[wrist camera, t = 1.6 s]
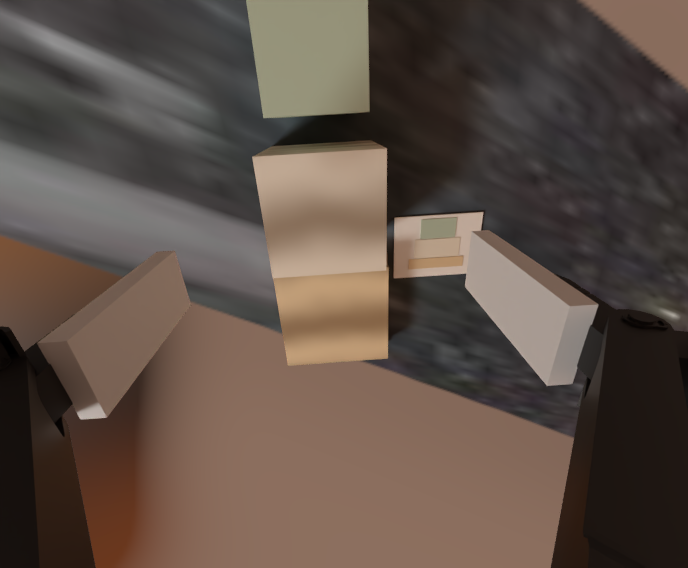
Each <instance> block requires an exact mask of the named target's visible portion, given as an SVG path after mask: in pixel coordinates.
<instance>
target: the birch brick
mask: <svg viewBox="0 0 688 568" xmlns="http://www.w3.org/2000/svg"><path fill="white" fill-rule="evenodd" d="M252 158H253V164H254V170H255V176H256V182H257V188H258V193H259V199H260V205H261V211H262V217H263V223H264V229H265V235H266V241H267V247H268V253H269V258H270V264H271V270H272V276H273V278H285V277H299V276H314V275H328V274H343V273H357V272H372V271H386V248H387V148H385V147H383V146H381V145H379V144H377V143H375V142H374V141H372V140H365V141H349V142H333V143H317V144H301V145H285V146H272V147H270V148H268V149H266V150H264V151H262V152H260V153H259V154H257V155H255V156H253V157H252Z"/></svg>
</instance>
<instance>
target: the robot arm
mask: <svg viewBox="0 0 688 568" xmlns="http://www.w3.org/2000/svg"><path fill="white" fill-rule="evenodd" d="M465 287H466V288H467V290H468V291H469V292H470V293H471V295H472V296H473V297H474V298H475V299H476V301H477V302H478V303H479V304H480V305H481V307H482V308H483V309H484V310H485V311H486V313H487V314H488V315H489V316H490V317H491V319H492V320H493V321H494V322H495V324H496V325H497V326H498V327H499V328H500V330H501V331H502V332H503V333H504V334H505V336H506V337H507V338H508V339H509V340H510V342H511V343H512V344H513V345H514V346H515V348H516V349H517V350H518V351H519V352H520V354H521V355H522V356H523V357H524V359H525V360H526V361H527V362H528V363H529V365H530V366H531V367H532V368H533V369H534V371H535V372H536V373H537V374H538V375H539V377H540V378H541V379H542V380H543V381H544V383H545V384H546V385H547V386H550V385H564V384H572V383H573V380H574V377H575V374H576V371H577V368H579V369H580V370H581V371H582V372H583V373H584V374H585V375H586V376H587V379H586V382H585V384H584V387H583V390H582V393H581V396H580V398H579V401H578V404H577V406H578V407H580V410H579V415H578V421H577V426H576V432H575V437H574V443H573V448H572V454H571V459H570V465H569V470H568V476H567V481H566V487H565V492H564V498H563V503H562V509H561V514H560V520H559V525H558V531H557V536H556V542H555V548H554V553H553V558H552V564H551V568H688V332H684V331H674V329H673V328H672V326H671V325H670V324H669V323H667V322H666V321H665V320H663V319H661V318H659V317H657V316H654V315H652V314H648V313H645V312H641V311H636V310H629V309H618V310H616V309H614V308H612V307H611V306H609V305H608V304H606V303H605V302H603V301H602V300H600V299H599V298H597V297H596V296H594V295H593V294H590V292H588V291H587V290H585V289H583V288H581V287H580V286H579V285H577V284H576V283H574V282H573V281H571V280H569V279H567V278H564V277H562V276H559V275H556V274H553V273H551V272H550V271H548V270H547V269H546V268H544V267H543V266H541V265H540V264H538V263H537V262H535V261H534V260H532V259H531V258H529V257H528V256H526V255H525V254H523V253H522V252H520V251H519V250H517V249H516V248H514V247H513V246H512V245H510V244H509V243H507V242H506V241H504V240H503V239H501V238H500V237H498V236H497V235H495V234H494V233H492V232H491V231H489V230H484V231H472V233H471V241H470V250H469V258H468V266H467V274H466V282H465ZM190 306H191V304H190V300H189V297H188V294H187V290H186V287H185V284H184V280H183V277H182V274H181V270H180V267H179V264H178V260H177V257H176V254H175V251H163V252H156V253H155V254H154V255H152V256H151V257H150V258H148V259H147V260H146V261H144V262H143V263H142V264H140V265H139V266H138V267H136V268H135V269H134V270H133V271H131V272H130V273H129V274H127V275H126V276H125V277H123V278H122V279H121V280H119V281H118V282H117V283H115V284H114V285H113V286H111V287H110V288H109V289H108V290H106V291H105V292H104V293H102V294H101V295H100V296H98V297H97V298H96V299H94V300H93V301H92V302H90V303H89V304H88V305H86V306H85V307H84V308H83V309H82V310H80V311H79V312H77V313H76V314H74V315H72V316H71V317H70V318H68V319H67V320H66V321H64V322H63V323H62V325H59V326H58V327H57V328H55V329H54V330H53V331H52V332H50V333H49V334H47V335H46V336H45V337H43V338H42V339H41V340H39V341H38V342H37V343H35V344H34V345H33V346H31V347H30V348H29V349H27V350H26V351H25V352H24V350H23V349H22V347H21V346H20V344H19V342H18V341H17V339H16V337H15V336H14V334H13V332H12V331H11V329H10V328H9V327H0V568H96V567H95V562H94V557H93V551H92V546H91V541H90V536H89V531H88V526H87V520H86V515H85V510H84V505H83V500H82V495H81V489H80V484H79V479H78V474H77V468H76V463H75V458H74V454H73V448H72V443H71V438H70V432H69V427H68V424H67V422H66V420H65V419H64V417H63V414H64V413H65V412H66V410H67V409H68V408H69V407H70V406H71V405H73V407H74V409H75V411H76V412H77V414H78V416H79V418H80V419H94V418H107V417H108V415H109V414H110V413H111V411H112V410H113V409H114V407H115V406H116V404H117V403H118V402H119V401H120V399H121V398H122V397H123V395H124V394H125V393H126V391H127V390H128V389H129V387H130V386H131V385H132V383H133V382H134V381H135V379H136V378H137V377H138V375H139V374H140V372H141V371H142V370H143V369H144V367H145V366H146V365H147V363H148V362H149V361H150V359H151V358H152V357H153V355H154V354H155V353H156V351H157V350H158V349H159V347H160V346H161V345H162V343H163V342H164V340H165V339H166V338H167V337H168V335H169V334H170V332H171V331H172V330H173V328H174V327H175V326H176V325H177V323H178V322H179V321H180V319H181V318H182V317H183V315H184V313H185V312H186V311H187V310H188V308H189V307H190Z"/></svg>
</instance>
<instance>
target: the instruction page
mask: <svg viewBox="0 0 688 568" xmlns="http://www.w3.org/2000/svg"><path fill="white" fill-rule="evenodd" d="M482 219H483V212H471V213H455V214H440V215H425V216H410V217H394V273H393V278H407V277H421V276H436V275H450V274H465V273H467V266H468V258H469V250H470V241H471V233H472V231H481V226H482Z"/></svg>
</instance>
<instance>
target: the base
mask: <svg viewBox="0 0 688 568" xmlns="http://www.w3.org/2000/svg"><path fill="white" fill-rule="evenodd" d="M387 255H388V254H387V251H386V271H372V272H357V273H343V274H328V275H314V276H299V277H285V278H273V279H274V285H275V291H276V297H277V303H278V309H279V315H280V321H281V327H282V333H283V339H284V345H285V351H286V356H287V362H288V366H290V365H304V364H317V363H331V362H345V361H359V360H373V359H386V358H388V278H389V267H388V265H387Z"/></svg>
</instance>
